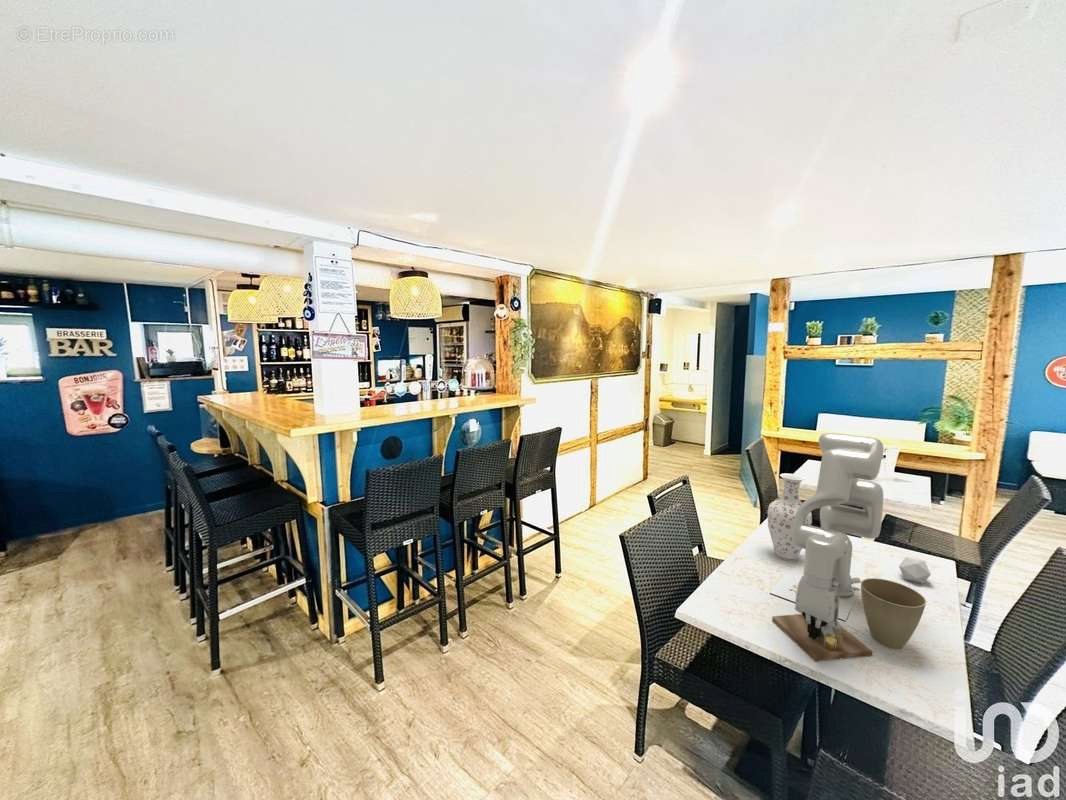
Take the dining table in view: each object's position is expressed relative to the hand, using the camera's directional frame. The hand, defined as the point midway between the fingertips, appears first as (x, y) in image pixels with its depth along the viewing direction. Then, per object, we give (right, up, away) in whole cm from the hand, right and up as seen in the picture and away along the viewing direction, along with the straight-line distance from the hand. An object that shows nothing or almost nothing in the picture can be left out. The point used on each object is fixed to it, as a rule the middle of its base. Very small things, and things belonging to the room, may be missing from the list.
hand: (813, 636), depth 126 cm
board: (+4, -2, +3) cm, 5 cm away
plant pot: (+23, -2, +2) cm, 23 cm away
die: (+61, +2, +35) cm, 71 cm away
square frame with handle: (+5, 0, +2) cm, 5 cm away
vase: (+24, +4, +54) cm, 59 cm away
